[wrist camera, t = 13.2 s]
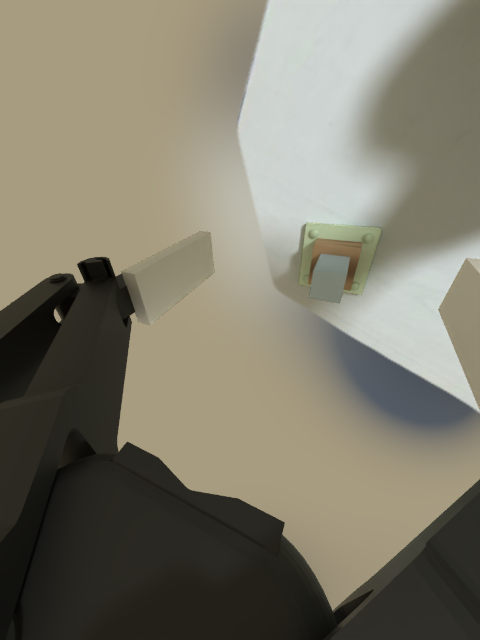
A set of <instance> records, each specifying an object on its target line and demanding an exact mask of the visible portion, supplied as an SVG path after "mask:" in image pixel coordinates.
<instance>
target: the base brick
mask: <svg viewBox="0 0 480 640" xmlns="http://www.w3.org/2000/svg"><path fill="white" fill-rule="evenodd" d="M361 250H362V242H353V241H343V240H332V239H321V238H317V240H316V242H315V243H314V247H313V253H312V260H311V266H310V273H309V279H308V284H310V285H311V282H312V275H313V270H314V268H315V266H316V263H317V261H318V259H319V257H320V255H321V254H328V255H337V256H346V257H350V261H349V266H348V272H347V277H346V281H345V285H344V289H343V290H348V291H351V287H352V283H353V280H354V276H355V272H356V269H357V265H358V261H359V258H360V254H361Z"/></svg>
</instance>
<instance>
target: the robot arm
mask: <svg viewBox="0 0 480 640" xmlns="http://www.w3.org/2000/svg"><path fill="white" fill-rule="evenodd" d="M77 265H78V268H79V270H80V272H81V274H82V276H83V279H84V281H85V282H84V284H77V282H76V280H75V278H74V276H73V275H72V274H61V273H60V274H55V275H52V276H50V277H49V278H46V279H45V280H43V281H42V282H40V283H39V284H37V285H36V286H35V287H33V288H32V289H30V290H29V291H28V292H26V293H25V294H24V295H22V296H21V297H19V298H18V299H17V300H15V301H14V302H12V303H11V304H10V305H8V306H7V307H6V308H4V309H3V310H1V311H0V640H480V480H479V481H478V482H476V483H475V484H474V485H473V486H472V487H471V488H470V489H469V490H468V491H466V492H465V493H464V494H463V495H462V496H461V497H460V498H459V499H458V500H456V501H455V502H454V503H453V504H452V505H451V506H450V507H449V508H448V509H447V510H445V511H444V512H443V513H442V514H441V515H440V516H439V517H438V518H437V519H436V520H435V521H433V522H432V523H431V524H430V525H429V526H428V527H427V528H426V529H425V530H424V531H422V532H421V533H420V534H419V535H418V536H417V537H416V538H415V539H414V540H413V541H411V542H410V543H409V544H408V545H407V546H406V547H405V548H404V549H402V550H401V551H400V552H399V553H398V554H397V555H396V556H395V557H394V558H393V559H391V560H390V561H389V562H388V563H387V564H386V565H385V566H384V567H383V568H382V569H380V570H379V571H378V572H377V573H376V574H375V575H374V576H373V577H372V578H370V579H369V580H368V581H367V582H365V583H364V584H363V585H362V586H360V587H359V588H358V589H357V590H356V591H354V592H353V593H352V594H351V595H350V596H349V597H348V598H346V599H345V600H344V601H343V602H342V603H341V604H340V605H339V606H337V607H336V608H335V609H334V610H333V611H332V609H331V606H330V604H329V602H328V600H327V597H326V595H325V593H324V591H323V589H322V587H321V585H320V583H319V582H318V580H317V578H316V576H315V574H314V573H313V571H312V570H311V568H310V567H309V565H308V564H307V562H306V561H305V559H304V558H303V557H302V555H301V554H300V553H299V552H298V551H297V549H296V548H295V547H294V546H293V545H292V544H291V543H290V542H289V541H288V540H287V539H286V538H285V537H284V536H283V535H282V532H283V528H284V522H282V521H281V520H279V519H277V518H275V517H273V516H271V515H269V514H267V513H265V512H263V511H261V510H259V509H257V508H255V507H253V506H251V505H250V504H247V503H246V502H244V501H242V500H240V499H237V498H231V497H226V496H220V495H214V494H208V493H202V492H196V491H192V490H189V489H188V488H186V487H185V486H184V484H183V483H182V482H181V481H180V480H179V479H178V478H177V477H176V476H175V475H174V474H173V473H172V472H171V471H170V469H169V468H168V467H167V466H166V465H165V464H164V463H163V462H162V461H161V460H160V459H159V458H158V457H156V456H154V455H152V454H150V453H148V452H146V451H144V450H142V449H140V448H139V447H137V446H135V445H133V444H131V443H129V442H127V443H126V444H125V445H124V446H123V448H122V449H121V450H120V451H119V452H118V447H117V435H118V427H119V419H120V410H121V403H122V394H123V387H124V379H125V371H126V363H127V356H128V348H129V340H130V332H131V324H132V321H131V318H130V315H131V314H133V313H134V312H135V314H136V317H137V319H138V322H141V323H145V324H148V325H151V324H152V323H153V322H155V321H156V320H157V319H158V318H159V317H161V316H162V315H163V314H164V313H166V312H167V311H168V310H169V309H171V308H172V307H173V306H174V305H175V304H177V303H178V302H179V301H180V300H182V299H183V298H184V297H185V296H186V295H188V294H189V293H190V292H191V291H192V290H194V289H195V288H196V287H197V286H198V285H200V284H201V283H202V282H203V281H205V280H206V279H207V278H208V277H209V276H211V275H212V274H213V273H214V264H213V254H212V244H211V233H210V232H203V231H200V232H198V233H196V234H194V235H192V236H190V237H188V238H186V239H184V240H182V241H180V242H178V243H176V244H174V245H172V246H170V247H168V248H166V249H164V250H162V251H160V252H158V253H156V254H154V255H152V256H151V257H148V258H147V259H145V260H143V261H141V262H139V263H137V264H135V265H133V266H131V267H129V268H127V269H125V270H123V271H121V273H122V274H120V275H118V276H116V277H115V274H114V271H113V268H112V266H111V263H110V260H109V258H107V257H95V258H89V259H86V260H84V261H81V262H79V263H78V264H77ZM55 309H56V310H57V312H58V314H59V316H60V317H61V319H62V320H61V321H60V322H59V323H58V322H57V321H56V319H55V317H54V310H55ZM438 310H439V312H440V315H441V317H442V320H443V322H444V325H445V327H446V329H447V332H448V334H449V337H450V339H451V341H452V344H453V346H454V349H455V351H456V354H457V356H458V358H459V361H460V363H461V366H462V368H463V371H464V373H465V375H466V378H467V380H468V383H469V385H470V388H471V390H472V392H473V395H474V397H475V400H476V402H477V404H478V407H479V409H480V259H472V258H466V259H465V261H464V263H463V265H462V267H461V269H460V270H459V272H458V274H457V276H456V278H455V280H454V282H453V283H452V285H451V287H450V289H449V291H448V293H447V294H446V296H445V298H444V300H443V302H442V304H441V305H440V307H439V309H438Z"/></svg>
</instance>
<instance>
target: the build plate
mask: <svg viewBox="0 0 480 640" xmlns="http://www.w3.org/2000/svg"><path fill="white" fill-rule="evenodd" d="M381 231H382V228H377V227H363V226H349V225H335V224H321V223H308V222H307V223H306V229H305V236H304V244H303V252H302V260H301V268H300V276H299V284H298V285H304V286H310V287H311V285H310V284H308V279H309V273H310V266H311V260H312V253H313V247H314V243H315V242H316V240H317V238H321V239H332V240H343V241H353V242H362V250H361V254H360V258H359V261H358V265H357V269H356V272H355V276H354V280H353V283H352V287H351V291H348V290H343V292H347V293H353V294H359V295H362V293H363V289H364V286H365V283H366V279H367V276H368V273H369V270H370V266H371V263H372V260H373V257H374V253H375V250H376V247H377V244H378V240H379V237H380V234H381Z"/></svg>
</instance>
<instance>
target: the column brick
mask: <svg viewBox="0 0 480 640" xmlns="http://www.w3.org/2000/svg"><path fill="white" fill-rule="evenodd" d="M349 261H350V257H346V256H337V255H328V254H321V255H320V257H319V259H318V261H317V263H316V266H315V268H314V270H313V275H312V282H311V288H310V294H309V298H312V299H318V300H323V301H329V302H335V303H340V301H341V297H342V293H343V289H344V285H345V281H346V277H347V272H348V266H349Z"/></svg>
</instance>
